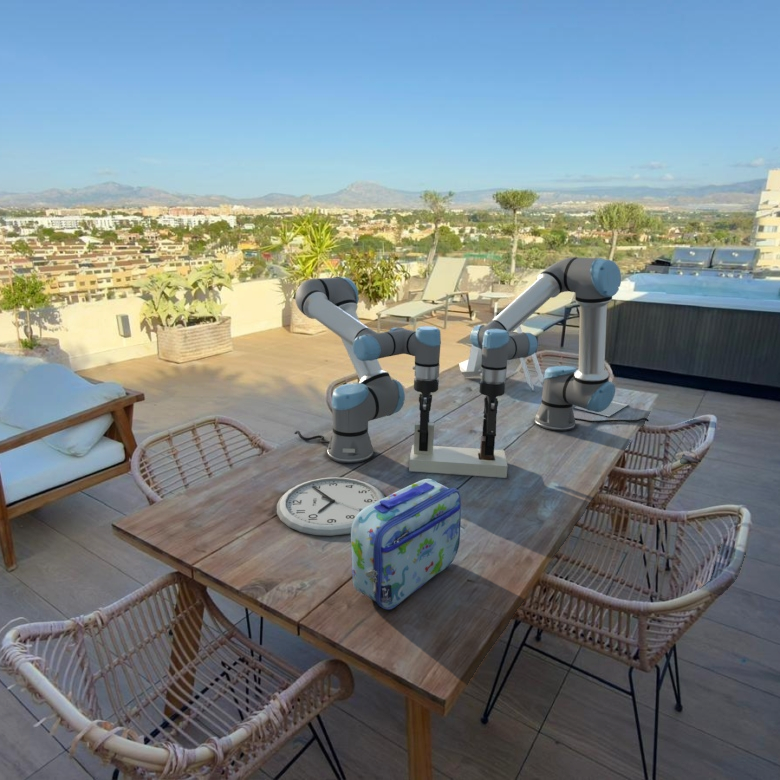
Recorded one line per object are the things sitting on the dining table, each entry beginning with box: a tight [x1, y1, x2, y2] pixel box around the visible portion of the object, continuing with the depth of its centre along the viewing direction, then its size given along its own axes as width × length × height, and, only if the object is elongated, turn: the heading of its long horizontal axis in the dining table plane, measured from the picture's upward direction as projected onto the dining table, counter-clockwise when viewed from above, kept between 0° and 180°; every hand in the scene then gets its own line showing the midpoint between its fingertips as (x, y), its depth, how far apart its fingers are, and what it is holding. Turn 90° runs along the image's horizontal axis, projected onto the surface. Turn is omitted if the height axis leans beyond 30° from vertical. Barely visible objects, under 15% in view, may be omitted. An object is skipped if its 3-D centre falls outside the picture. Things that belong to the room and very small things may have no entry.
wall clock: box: [276, 476, 386, 537], centre depth 142 cm, size 30×2×30 cm
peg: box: [479, 435, 496, 460], centre depth 165 cm, size 4×4×10 cm
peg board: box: [408, 420, 509, 479], centre depth 166 cm, size 30×12×14 cm, turn 83°
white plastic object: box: [458, 325, 544, 391], centre depth 258 cm, size 37×45×31 cm
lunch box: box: [350, 478, 462, 611], centre depth 110 cm, size 26×11×21 cm, turn 135°
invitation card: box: [573, 400, 629, 418], centre depth 226 cm, size 21×1×15 cm
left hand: (423, 448), depth 167 cm, fingers closed on peg board, 3 cm apart
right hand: (487, 446), depth 164 cm, fingers open, 13 cm apart
